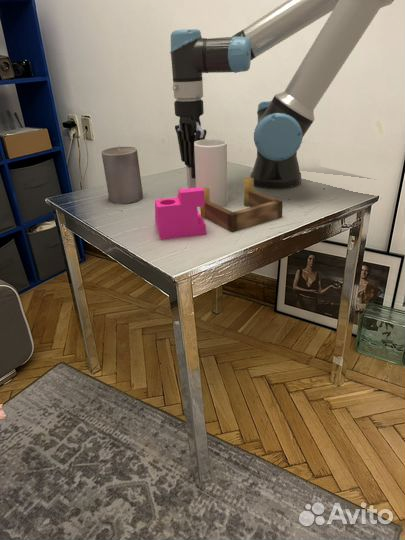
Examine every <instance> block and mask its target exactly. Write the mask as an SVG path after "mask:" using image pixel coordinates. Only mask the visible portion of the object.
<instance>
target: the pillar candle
mask: <svg viewBox="0 0 405 540" xmlns="http://www.w3.org/2000/svg"><path fill="white" fill-rule="evenodd" d="M101 157H102V164H103V170H104V175H105V176H104V177H105V181H106V188H107V195H108V201H109V202H110V203H112V204H117V205H126V204H131V203H136V202H138V201H141V200H142V199H143V198H144V197H143V196H144V195H143V193H144V191H143V185H142V178H141V170H140V169H141V168H140V164H139V163H140V162H139V154H138V149H137V148H136V147H133V146H115V147H111V148H105V149H104V150H102V151H101Z"/></svg>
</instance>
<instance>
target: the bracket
mask: <svg viewBox="0 0 405 540" xmlns="http://www.w3.org/2000/svg"><path fill="white" fill-rule="evenodd" d="M177 190H178V192H177V197H171V198H170V197H167V198H161V199H160V198H159V199H154V219H155V224H156V228H157V232H158V237H159V239H160V241H164V240H173V239H182V238H189V237H197V236H206V235H207V227H206V226H207V224H206V223H205V220H204V218H202V217H201V212H199V210H198V207H200V206H205V196H204V189H203V188H202V187H198V188H188V187H187V188H179V189H177Z"/></svg>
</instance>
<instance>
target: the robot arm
mask: <svg viewBox="0 0 405 540" xmlns="http://www.w3.org/2000/svg"><path fill="white" fill-rule="evenodd" d="M394 1H395V0H286V1H285V2H283V3H282V4H280V5H279V6H277V7H276V8H274V9H273V10H271V11H269V12H268V13H267V14H265V15H263V16H262V17H260V18H259V19H257V20H255V21H254V22H253V23H251V24H249V25H248V26H246V27H245V28H243V29H242V30H240V31H239V32H236V33H235V34H234V35H232V36H227V37H215V38H214V37H213V38H205V37H204V38H203V36H202V32H201V30H199V29H197V28H195V29H192V28H191V29H177V30H173V31H172V32H171V33H170V53H169V54H170V58H171V59H170V60H171V71H172V90H173V98H174V99H175V101H174V102H173V105H174V115H175V116H176V117H177V118H179V121H178V122H179V124H176V125H175V126H174V129H175V133H176V135H177V136H176V137H177V141H178V148H179V154H180V160H181V162H182V163H184V165H185V167H186V183H187V185H186V186H187V189H188V188H196V175H195V152H194V142H195V141H198V140H202V139H206V137H207V130H206V129H203V128H202V126H201V125H202V124H201V119H200V117H201V116H203V115H204V113H205V111H204V100H203V99H202V98H203V97H204V85H203V84H204V83H203V74H209V73H216V74H217V73H222V74H223V73H235V74H236V73H243V72H244V73H245V72H248V71H249V70H250V67H251V61H252V60H254V59H256V58H257V57H259V56H261V55H262V54H264V53H265V52H266V51H269V50H270V49H273V48H274V47H275V46H277V45H279V44H280V43H282V42H283V41H285V40H287V39H288V38H290V37H291V36H293V35H294V34H297V33H298V32H300V31H302V30H303V29H305V28H306V27H308V26H310V25H311V24H313V23H315V22H316V21H318V20H319V19H322V18H323V17H325V16H327V15H328V14H330V15H329V16H328V18H327V20H326V21H325V23H324V25H323V26H322V28H321V29H320V31H319V33H318V35H317V37H315V40H314V41H313V43H312V45H311V46H310V48H309V49H308V52H306V55H305V57H304V58H303V59H302V61H301V63H300V65H299V66H298V68H297V70H296V71H295V73H294V74H293V76H292V77H291V79H290V81H289V83H288V85H287V87H286V88H285V90H284V91H282V92H279V93H277V94H275V95H273V98H272V99H271V101H262V102H259V104H258V107H257V111H256V114H257V124H256V126H255V128H254V131H253V141H254V145H255V147H256V152H257V153H256V158H255V162H254V164H253V169H252V171H251V173H250V177H251V178H254V186H255V187H258V188H261V189H262V188H263V189H271V190H272V189H273V190H274V189H275V190H280V189H282V190H283V189H288V188H294V187H297V186H299V185H300V184H301V183H302V172H301V171H300V165H299V161H298V155H297V153H298V151H299V149H300V147H301V145H302V143H303V138H304V136H305V135H306V133H307V132H308V130H309V129H310V127H311V125H312V124H313V123H314V121H315V120H316V119H315V113H314V110H315V109H316V108H317V106H318V104H319V103H320V101H321V99H322V98H323V97H324V95H325V93H326V92H327V90H328V89H329V87H330V85H331V84H332V83H333V81H334V79H335V78H336V76H337V75H338V74H339V72H340V70H341V69H342V67H343V65H344V64H345V63H346V61H347V60H348V59H349V57H350V55H351V54H352V52H353V51H354V49H355V48H356V46H357V44H358V43H359V42H360V40H361V38H362V37H363V35H364V34H365V32H366V31H367V29H368V27H369V26H370V24H372V22H373V20H374V18H375V17H376V15H377V14H378V13H379V11H380V10H381V8H384V7H387V6H390V5H392V4H393V2H394Z"/></svg>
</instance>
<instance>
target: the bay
mask: <svg viewBox="0 0 405 540" xmlns="http://www.w3.org/2000/svg"><path fill="white" fill-rule="evenodd" d="M254 186H255V185H254V178H251V176H249V177H245V178H244V179H243V191H244V192H243V205H244V206H245V207H247V208H244V209H239V210H235V211H231V210H230V209H227V208H225V207H224V206H222V207H221V206H219V205H217V204H214V203H212V202H210V192H209V188H203V189H204V196H205V206H199V207H200V215H201V217H202V219H206V220H208V221H210V222H211V223H213V224H215V225H217V226H219V227H221V228H223V229H225V230H227V231H229V232H231V233H234V232H237V231H239V230H240V231H241V230H243V229H247V228H250V227H253V226H257V225H260V224H264V223H266V222H270V221H274V220H277V219H281V218H282V217H283V207H284V203H283V202H284V201H283V200H280V199H279V198H276V197H272V196H270V195H267V194H264V193H261V192H259V191H256V190H254V188H255V187H254Z"/></svg>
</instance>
